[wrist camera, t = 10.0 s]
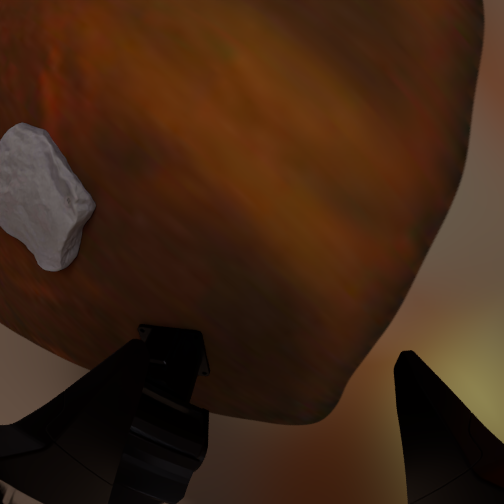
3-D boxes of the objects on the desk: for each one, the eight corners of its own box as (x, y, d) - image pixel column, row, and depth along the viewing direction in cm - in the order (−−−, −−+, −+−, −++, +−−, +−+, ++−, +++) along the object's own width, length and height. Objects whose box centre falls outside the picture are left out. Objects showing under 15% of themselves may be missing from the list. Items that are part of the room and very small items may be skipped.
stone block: (38, 110, 18) (1, 196, 21) (6, 109, 14) (-28, 208, 16) (124, 180, 22) (75, 264, 24) (99, 190, 17) (51, 288, 20)
